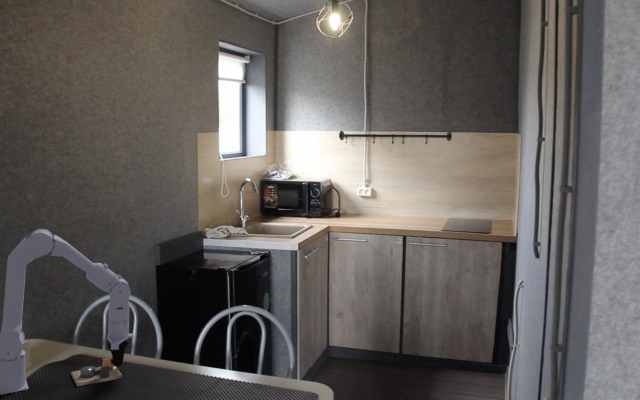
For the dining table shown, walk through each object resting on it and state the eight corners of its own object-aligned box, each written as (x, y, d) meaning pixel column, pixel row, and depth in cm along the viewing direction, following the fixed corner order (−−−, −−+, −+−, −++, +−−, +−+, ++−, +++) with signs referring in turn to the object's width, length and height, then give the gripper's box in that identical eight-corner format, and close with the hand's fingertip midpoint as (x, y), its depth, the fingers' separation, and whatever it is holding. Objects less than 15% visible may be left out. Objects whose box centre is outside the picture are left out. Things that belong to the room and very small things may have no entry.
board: (77, 386, 149) (77, 382, 149) (71, 375, 156) (71, 371, 156) (121, 378, 155) (121, 374, 155) (114, 367, 163) (114, 364, 163)
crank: (83, 378, 151) (83, 367, 151) (77, 374, 154) (78, 362, 154) (122, 369, 159) (123, 357, 159) (117, 365, 162) (117, 354, 162)
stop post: (101, 378, 152) (101, 369, 152) (99, 375, 154) (99, 367, 154) (110, 377, 153) (110, 368, 153) (108, 374, 155) (108, 365, 155)
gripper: (129, 327, 151) (129, 374, 152) (136, 313, 165) (135, 356, 166) (103, 328, 150) (102, 375, 150) (111, 313, 164) (111, 357, 164)
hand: (118, 365), depth 158 cm, fingers closed, pressing on crank
